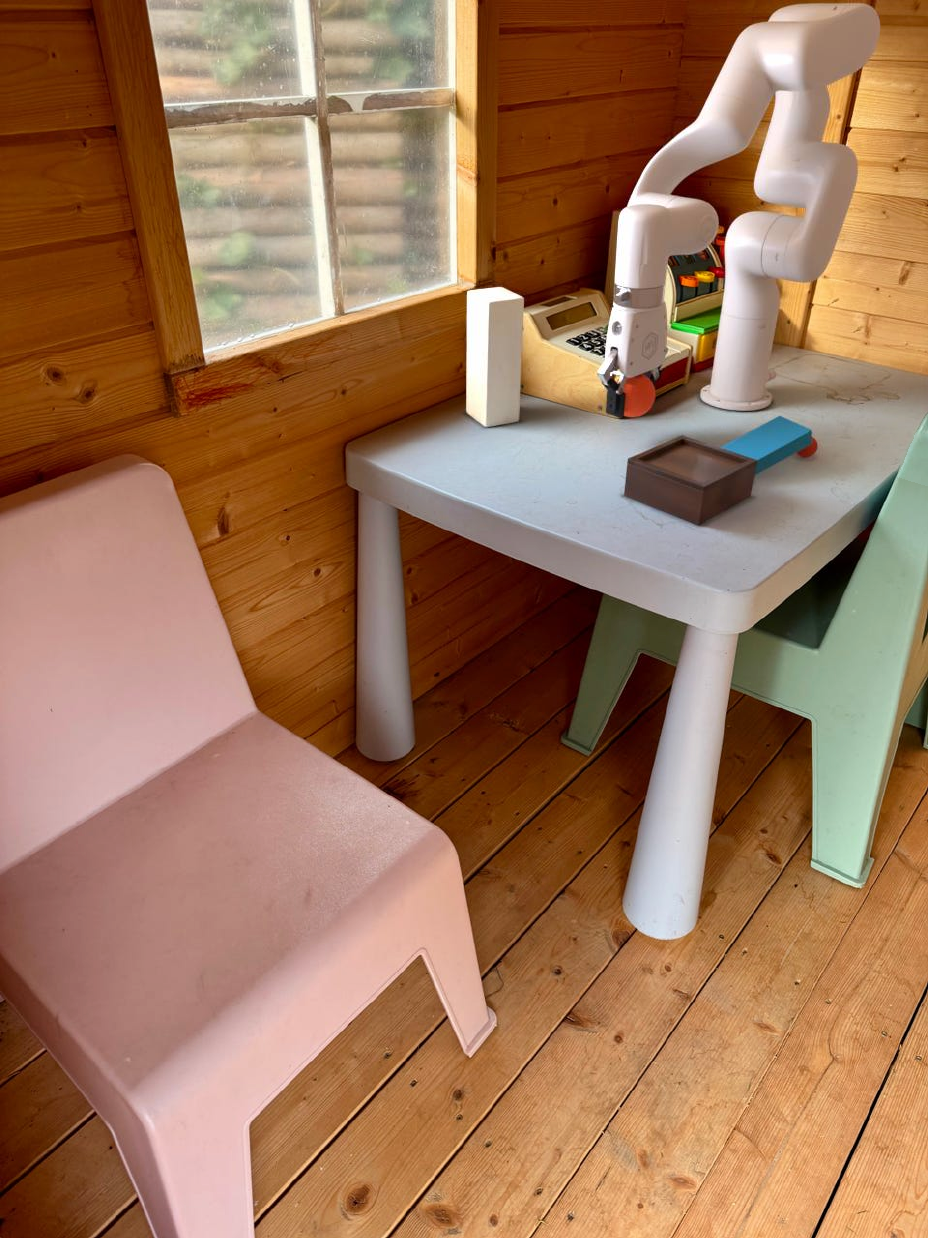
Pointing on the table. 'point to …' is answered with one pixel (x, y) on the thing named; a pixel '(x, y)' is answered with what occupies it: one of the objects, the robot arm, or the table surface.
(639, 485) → the tray
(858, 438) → the table surface
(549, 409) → the table surface
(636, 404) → the clementine
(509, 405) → the tall white pillar block
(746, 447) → the lever
